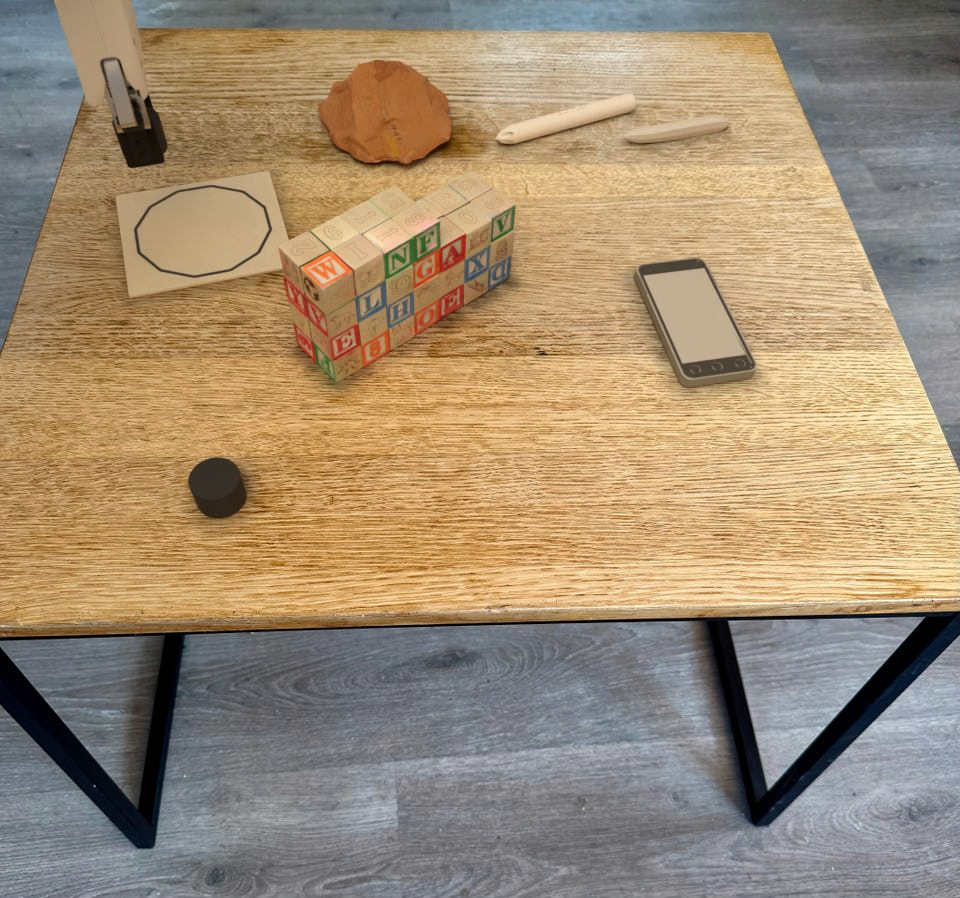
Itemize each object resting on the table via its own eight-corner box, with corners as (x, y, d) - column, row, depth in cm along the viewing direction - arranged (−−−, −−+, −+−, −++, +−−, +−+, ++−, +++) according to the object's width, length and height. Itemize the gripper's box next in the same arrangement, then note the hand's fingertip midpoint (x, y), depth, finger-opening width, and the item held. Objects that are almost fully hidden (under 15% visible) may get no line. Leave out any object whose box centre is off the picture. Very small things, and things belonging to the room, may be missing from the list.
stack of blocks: (469, 244, 90) (474, 142, 79) (511, 279, 87) (521, 177, 77) (295, 344, 81) (275, 243, 71) (335, 385, 79) (321, 287, 68)
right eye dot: (199, 524, 70) (191, 504, 68) (193, 483, 72) (184, 463, 70) (250, 511, 71) (243, 492, 68) (242, 472, 73) (235, 451, 71)
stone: (462, 176, 99) (446, 128, 90) (339, 204, 101) (310, 159, 91) (443, 63, 103) (425, 4, 93) (324, 92, 104) (294, 37, 95)
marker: (499, 152, 98) (500, 134, 96) (490, 141, 99) (491, 123, 97) (634, 114, 104) (638, 96, 102) (625, 104, 105) (628, 87, 103)
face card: (129, 298, 83) (128, 296, 83) (115, 197, 91) (114, 194, 91) (296, 267, 87) (296, 264, 86) (269, 172, 95) (269, 170, 94)
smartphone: (684, 380, 79) (634, 265, 87) (682, 388, 80) (631, 273, 88) (760, 370, 80) (703, 256, 88) (756, 377, 81) (700, 264, 89)
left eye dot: (124, 165, 78) (114, 136, 75) (120, 138, 80) (110, 109, 77) (170, 158, 78) (161, 129, 76) (165, 131, 81) (156, 102, 78)
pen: (616, 142, 100) (619, 129, 99) (724, 123, 103) (728, 110, 102) (622, 150, 100) (625, 138, 98) (731, 131, 103) (735, 118, 101)
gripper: (17, -113, 67) (93, 99, 83) (24, 2, 59) (108, 215, 74) (118, -122, 69) (175, 87, 84) (139, -12, 60) (199, 200, 75)
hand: (143, 145), depth 79 cm, fingers closed on left eye dot, 4 cm apart
